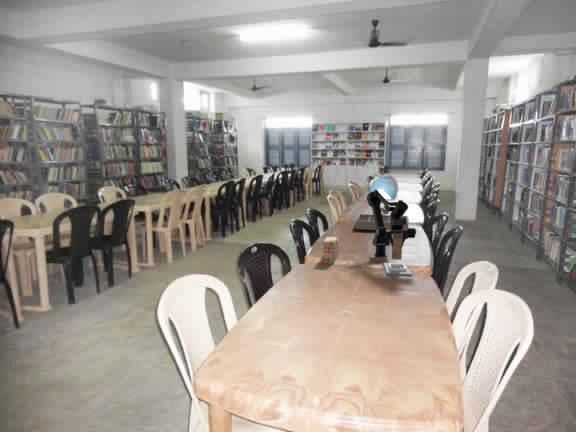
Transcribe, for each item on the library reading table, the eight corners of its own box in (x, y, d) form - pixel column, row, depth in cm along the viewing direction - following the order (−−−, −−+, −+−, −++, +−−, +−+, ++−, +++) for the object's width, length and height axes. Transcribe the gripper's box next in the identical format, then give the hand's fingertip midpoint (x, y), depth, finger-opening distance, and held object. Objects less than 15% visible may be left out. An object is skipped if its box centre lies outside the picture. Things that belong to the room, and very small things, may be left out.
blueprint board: (383, 264, 213) (383, 259, 212) (406, 265, 211) (406, 260, 211) (386, 274, 195) (386, 270, 195) (411, 275, 194) (411, 271, 193)
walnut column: (391, 257, 204) (392, 232, 201) (400, 257, 203) (401, 232, 201) (392, 259, 199) (393, 234, 197) (401, 259, 199) (402, 234, 196)
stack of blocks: (328, 253, 237) (328, 233, 235) (338, 253, 235) (338, 233, 233) (323, 262, 216) (323, 241, 214) (334, 263, 215) (334, 241, 213)
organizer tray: (408, 233, 290) (409, 220, 288) (354, 231, 300) (354, 218, 298) (407, 225, 321) (408, 213, 319) (357, 223, 331) (358, 211, 329)
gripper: (379, 211, 202) (379, 237, 194) (416, 212, 200) (419, 238, 191) (377, 223, 212) (378, 249, 203) (413, 224, 209) (415, 250, 200)
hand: (397, 246), depth 199 cm, fingers closed on walnut column, 4 cm apart
